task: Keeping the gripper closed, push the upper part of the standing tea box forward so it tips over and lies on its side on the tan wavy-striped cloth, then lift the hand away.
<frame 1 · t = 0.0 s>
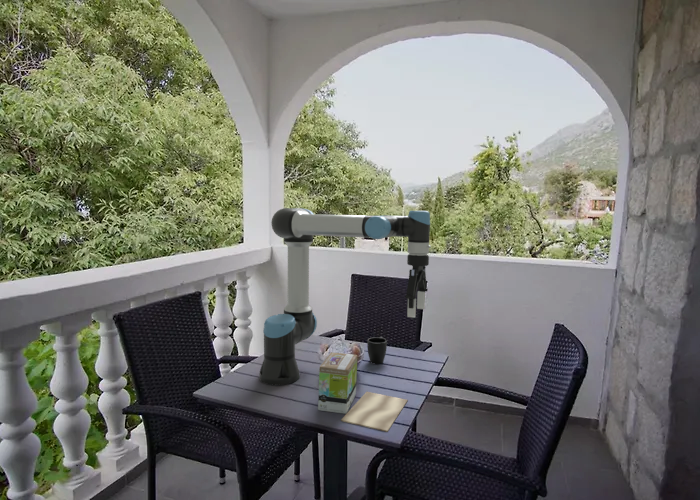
hand: (416, 312, 150), 28 cm above the table, tool pointing down, fingers open, 13 cm apart
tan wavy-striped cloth: (376, 410, 135), on the table
tea box: (338, 402, 140), on the table
mug: (377, 360, 180), on the table
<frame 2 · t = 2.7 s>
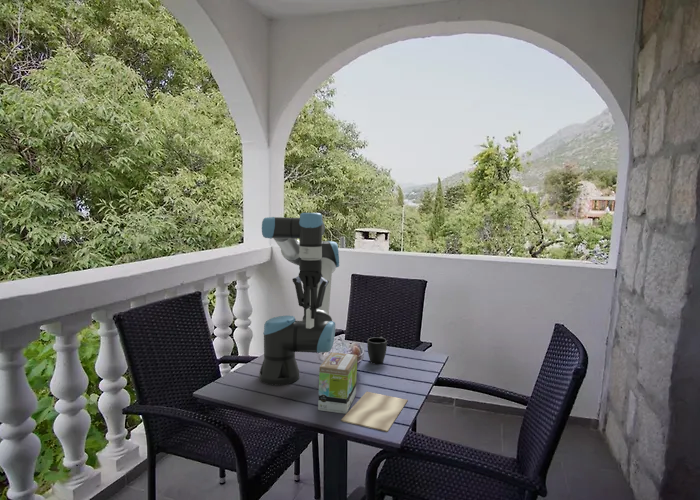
hand: (310, 327, 142), 24 cm above the table, tool pointing down, fingers closed
nothing on the table moved.
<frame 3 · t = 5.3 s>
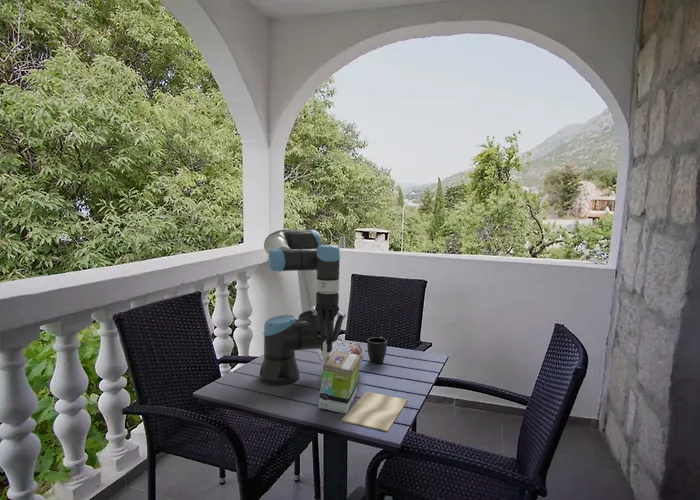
hand: (326, 360, 140), 14 cm above the table, tool pointing down, fingers closed
tea box: (338, 401, 140), on the table, touching gripper
everything else where it was.
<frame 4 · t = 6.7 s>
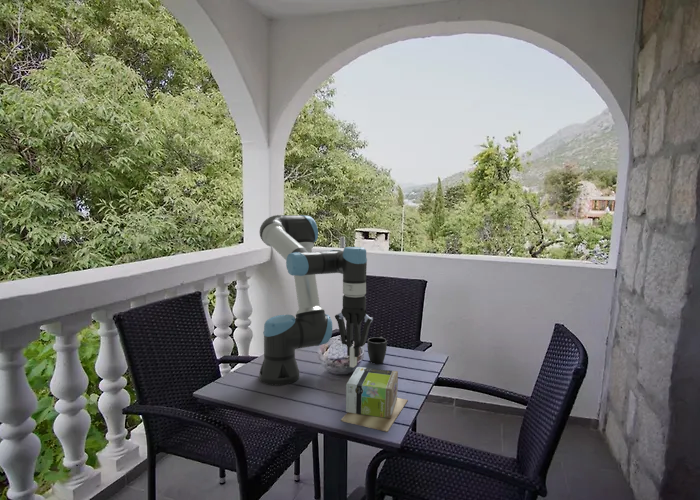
hand: (353, 365, 137), 14 cm above the table, tool pointing down, fingers closed
tea box: (350, 388, 139), point 5 cm above the table, touching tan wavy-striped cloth
everything else where it was.
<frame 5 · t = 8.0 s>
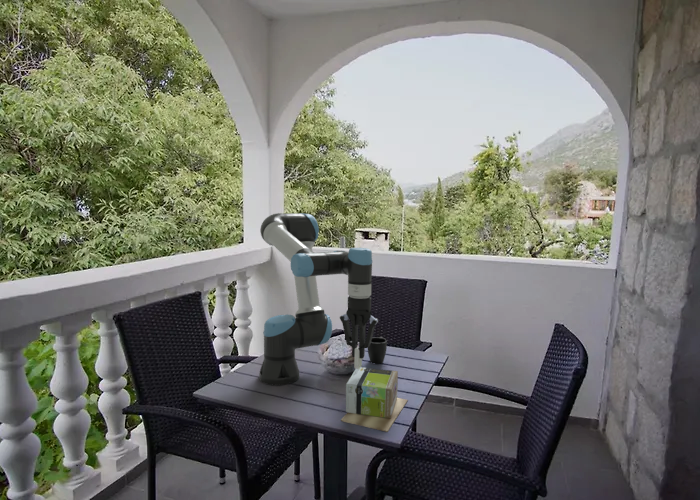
hand: (357, 367, 136), 13 cm above the table, tool pointing down, fingers closed
nothing on the table moved.
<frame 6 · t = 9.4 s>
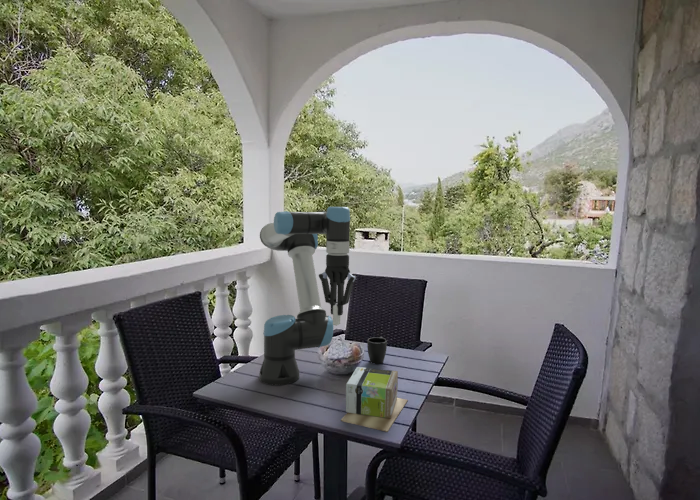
hand: (336, 324, 139), 26 cm above the table, tool pointing down, fingers closed
nothing on the table moved.
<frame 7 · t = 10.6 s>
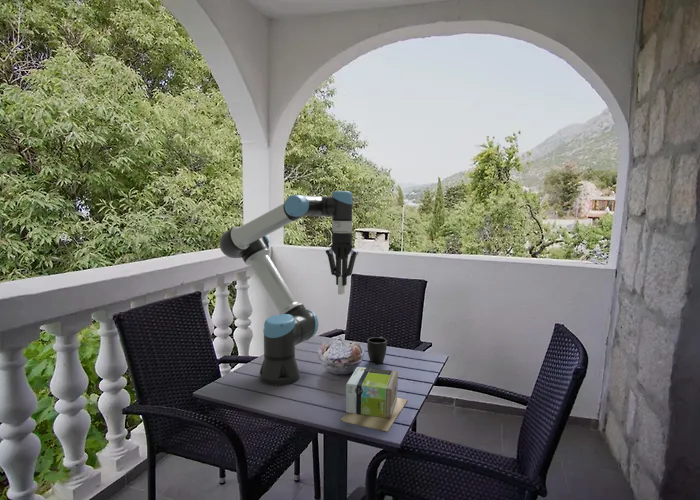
hand: (341, 293, 160), 32 cm above the table, tool pointing down, fingers closed
nothing on the table moved.
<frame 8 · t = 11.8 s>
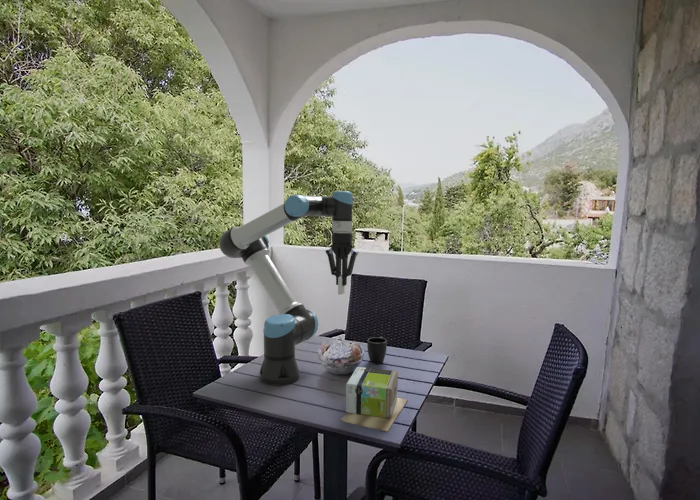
hand: (341, 293, 160), 32 cm above the table, tool pointing down, fingers closed
nothing on the table moved.
at the end: tea box tilted 89°; tea box inside the target area (5.5 cm from its centre), point 5.3 cm above the table; tea box touching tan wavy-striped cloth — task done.
